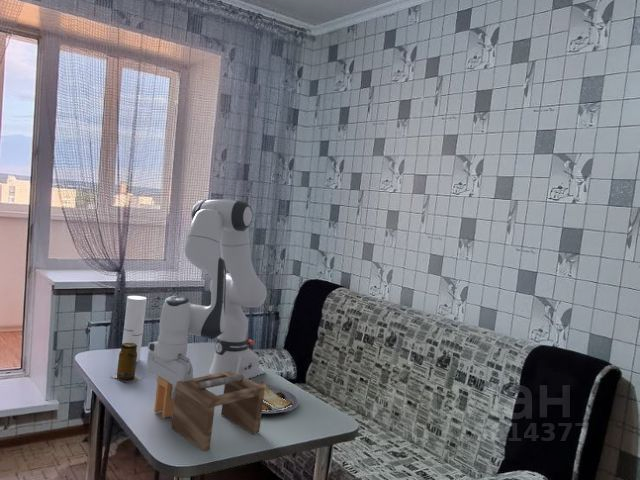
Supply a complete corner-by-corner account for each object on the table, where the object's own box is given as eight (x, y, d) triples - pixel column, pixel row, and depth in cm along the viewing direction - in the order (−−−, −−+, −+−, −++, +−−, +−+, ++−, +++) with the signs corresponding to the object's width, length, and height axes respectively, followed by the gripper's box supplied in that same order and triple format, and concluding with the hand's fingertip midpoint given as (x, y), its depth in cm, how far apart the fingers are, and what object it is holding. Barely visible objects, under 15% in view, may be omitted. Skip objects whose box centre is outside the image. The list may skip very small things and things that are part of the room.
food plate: (214, 392, 176) (216, 383, 176) (270, 385, 190) (272, 377, 190) (249, 424, 156) (251, 413, 156) (308, 414, 171) (310, 404, 170)
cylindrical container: (123, 356, 201) (130, 295, 200) (141, 357, 202) (148, 297, 200) (118, 361, 194) (125, 298, 192) (137, 363, 195) (144, 300, 193)
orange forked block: (165, 408, 157) (169, 374, 157) (175, 414, 154) (179, 380, 153) (154, 411, 154) (158, 376, 154) (163, 418, 151) (167, 382, 150)
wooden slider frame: (226, 413, 161) (232, 364, 160) (259, 432, 150) (265, 381, 149) (171, 428, 146) (177, 374, 145) (203, 451, 135) (210, 393, 134)
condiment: (126, 372, 184) (130, 340, 184) (143, 378, 181) (147, 346, 180) (110, 377, 178) (114, 344, 177) (127, 383, 174) (131, 350, 173)
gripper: (200, 358, 148) (195, 403, 149) (163, 339, 162) (158, 381, 163) (182, 361, 143) (176, 408, 144) (145, 342, 157) (140, 384, 158)
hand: (167, 393), depth 154 cm, fingers closed on orange forked block, 5 cm apart
